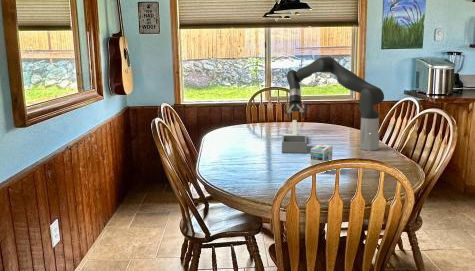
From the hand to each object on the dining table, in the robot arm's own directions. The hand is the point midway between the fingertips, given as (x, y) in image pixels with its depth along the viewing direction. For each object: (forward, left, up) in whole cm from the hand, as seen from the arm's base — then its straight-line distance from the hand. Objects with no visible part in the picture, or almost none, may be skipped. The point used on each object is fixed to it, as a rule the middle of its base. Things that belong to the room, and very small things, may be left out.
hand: (295, 118), depth 273 cm
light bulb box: (-75, +30, -11) cm, 81 cm away
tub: (-35, +21, -10) cm, 42 cm away
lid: (-15, +9, -10) cm, 20 cm away
